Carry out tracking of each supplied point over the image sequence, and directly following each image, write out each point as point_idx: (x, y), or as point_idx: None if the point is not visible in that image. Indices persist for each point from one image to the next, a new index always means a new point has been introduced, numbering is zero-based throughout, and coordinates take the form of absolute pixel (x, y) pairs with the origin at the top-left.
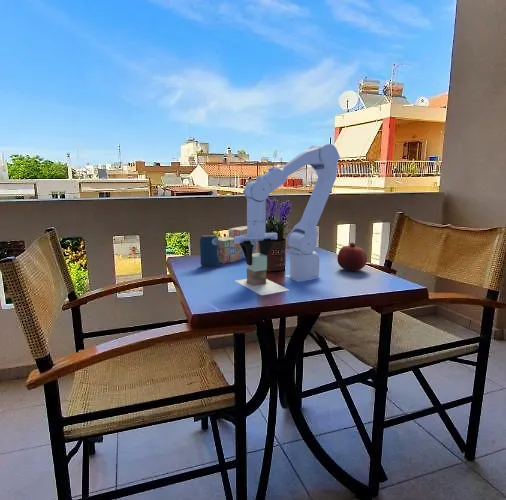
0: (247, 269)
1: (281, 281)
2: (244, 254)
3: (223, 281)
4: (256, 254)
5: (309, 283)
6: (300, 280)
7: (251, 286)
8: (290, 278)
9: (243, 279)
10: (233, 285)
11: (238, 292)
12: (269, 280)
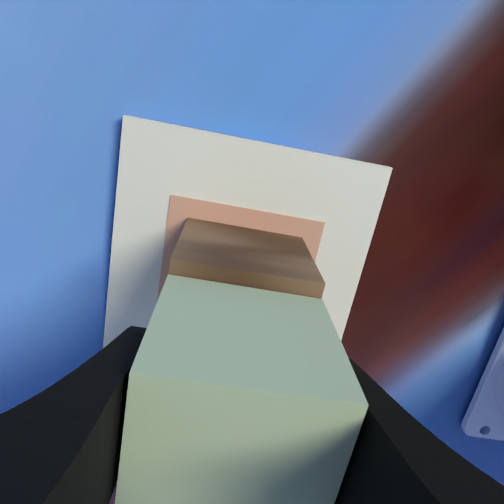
0: (168, 273)
1: (415, 340)
2: (53, 388)
3: (46, 25)
4: (252, 449)
5: (496, 465)
6: (489, 432)
7: (146, 325)
8: (493, 361)
9: (210, 140)
10: (65, 190)
11: (14, 339)
12: (351, 300)
